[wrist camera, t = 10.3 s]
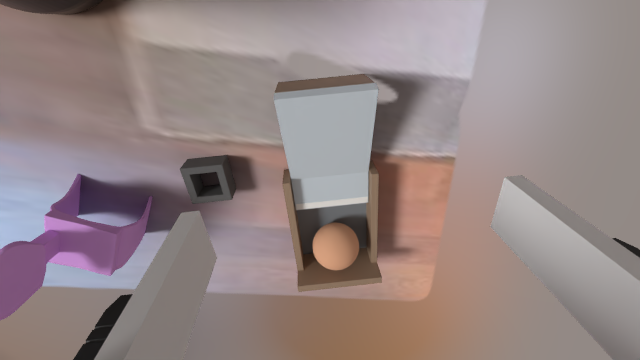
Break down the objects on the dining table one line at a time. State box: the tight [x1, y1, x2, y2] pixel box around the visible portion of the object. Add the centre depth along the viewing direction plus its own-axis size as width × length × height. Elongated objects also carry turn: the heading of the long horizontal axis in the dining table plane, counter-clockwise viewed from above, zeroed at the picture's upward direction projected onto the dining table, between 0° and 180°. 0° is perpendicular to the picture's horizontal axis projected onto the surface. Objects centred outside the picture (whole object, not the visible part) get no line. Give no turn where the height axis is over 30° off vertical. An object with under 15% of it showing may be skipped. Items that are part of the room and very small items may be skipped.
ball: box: [313, 222, 359, 270], centre depth 36 cm, size 6×6×6 cm
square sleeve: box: [180, 155, 236, 204], centre depth 33 cm, size 5×5×2 cm
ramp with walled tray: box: [274, 74, 382, 292], centre depth 33 cm, size 25×11×6 cm, turn 5°
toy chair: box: [0, 174, 152, 320], centre depth 29 cm, size 8×9×15 cm
